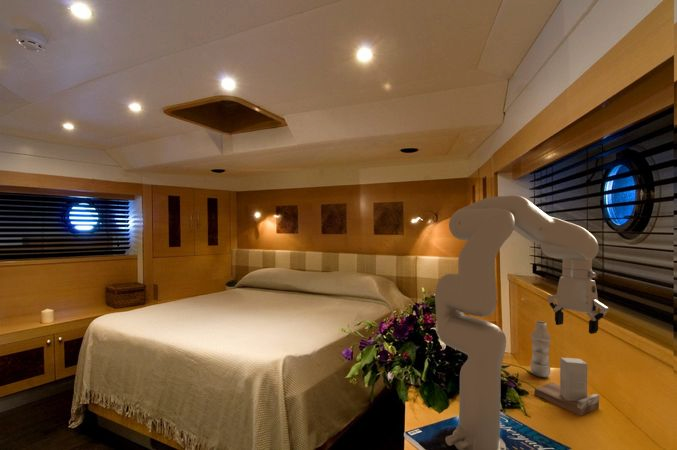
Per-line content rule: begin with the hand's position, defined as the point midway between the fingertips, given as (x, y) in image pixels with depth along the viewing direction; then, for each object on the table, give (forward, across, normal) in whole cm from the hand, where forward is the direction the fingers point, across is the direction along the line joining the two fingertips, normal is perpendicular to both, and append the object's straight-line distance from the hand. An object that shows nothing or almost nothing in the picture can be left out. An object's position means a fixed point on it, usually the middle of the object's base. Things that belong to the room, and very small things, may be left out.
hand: (575, 328), depth 106 cm
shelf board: (+24, +2, 0) cm, 24 cm away
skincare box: (+22, 0, 0) cm, 22 cm away
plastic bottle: (+24, +18, -11) cm, 32 cm away
